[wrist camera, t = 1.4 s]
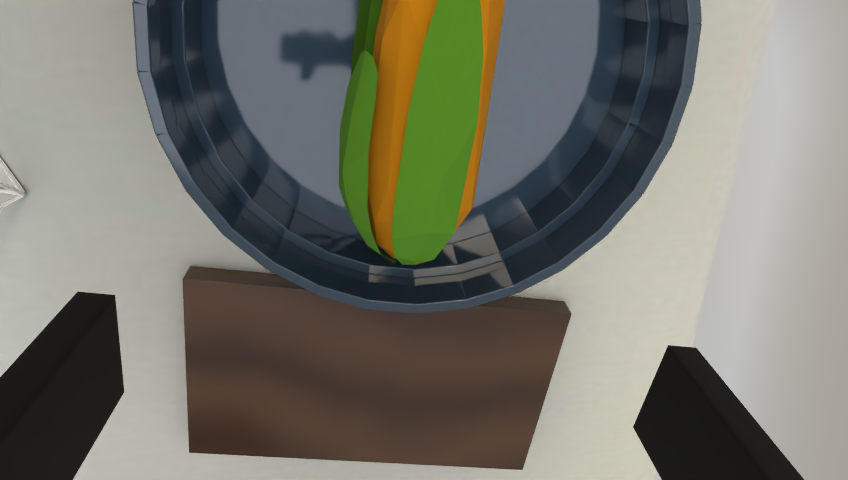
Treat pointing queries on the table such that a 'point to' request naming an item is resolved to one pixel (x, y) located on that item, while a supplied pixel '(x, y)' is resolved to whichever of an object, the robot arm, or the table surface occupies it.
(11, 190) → the geometric polyhedron
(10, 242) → the table surface
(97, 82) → the table surface
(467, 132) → the corn
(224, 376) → the walnut board
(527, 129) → the bowl
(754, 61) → the table surface
